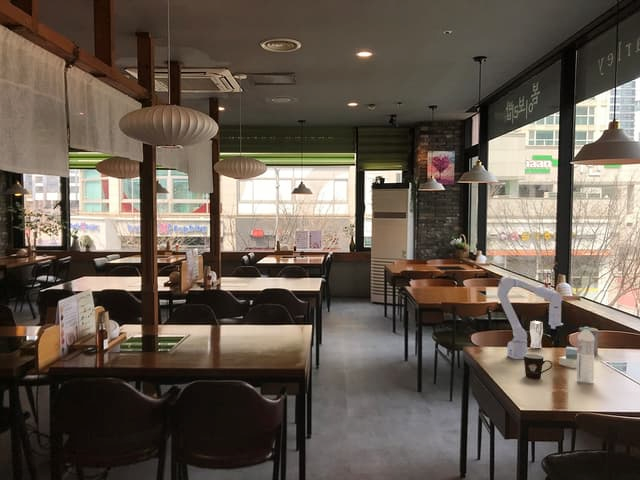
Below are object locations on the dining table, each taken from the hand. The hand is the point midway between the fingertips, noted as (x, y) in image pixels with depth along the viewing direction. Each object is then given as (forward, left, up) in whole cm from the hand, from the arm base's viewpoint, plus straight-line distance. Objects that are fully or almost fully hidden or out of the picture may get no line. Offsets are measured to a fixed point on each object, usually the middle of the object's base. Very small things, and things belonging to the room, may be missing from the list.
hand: (554, 340), depth 274 cm
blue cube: (+1, -11, -7) cm, 13 cm away
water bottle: (-14, -38, -11) cm, 42 cm away
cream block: (+1, -12, -11) cm, 16 cm away
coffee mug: (-32, -28, -11) cm, 44 cm away
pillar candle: (+29, +8, -11) cm, 32 cm away
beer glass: (+9, +26, -11) cm, 30 cm away
